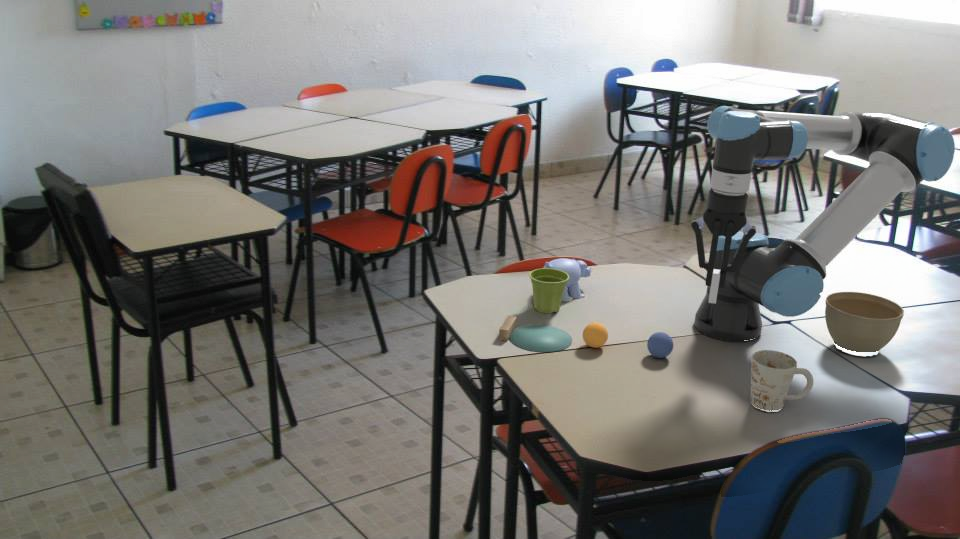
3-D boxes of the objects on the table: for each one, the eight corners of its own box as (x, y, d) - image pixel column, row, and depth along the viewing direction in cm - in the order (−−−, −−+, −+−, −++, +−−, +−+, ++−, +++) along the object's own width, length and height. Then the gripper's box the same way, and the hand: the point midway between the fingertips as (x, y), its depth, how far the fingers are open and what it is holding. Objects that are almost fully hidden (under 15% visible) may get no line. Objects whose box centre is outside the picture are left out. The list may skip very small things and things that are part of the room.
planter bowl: (890, 341, 209) (900, 297, 206) (897, 370, 195) (908, 324, 191) (816, 329, 214) (824, 286, 210) (818, 357, 199) (827, 311, 196)
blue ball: (672, 353, 198) (675, 330, 196) (670, 363, 193) (673, 340, 191) (647, 349, 199) (649, 326, 197) (644, 359, 194) (647, 336, 192)
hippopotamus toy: (601, 293, 229) (604, 257, 226) (556, 305, 221) (559, 268, 217) (572, 279, 237) (575, 245, 234) (528, 290, 229) (530, 255, 225)
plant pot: (563, 318, 213) (566, 284, 210) (524, 314, 214) (526, 279, 211) (568, 304, 221) (571, 270, 218) (530, 299, 223) (532, 266, 220)
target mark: (576, 330, 207) (576, 329, 207) (565, 356, 194) (566, 355, 194) (516, 321, 210) (516, 320, 210) (502, 346, 197) (502, 345, 197)
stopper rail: (516, 326, 207) (516, 316, 206) (507, 340, 200) (508, 330, 199) (507, 325, 208) (508, 315, 207) (498, 339, 200) (499, 329, 199)
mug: (738, 395, 181) (745, 349, 177) (799, 395, 182) (807, 350, 179) (753, 416, 173) (761, 369, 170) (816, 416, 174) (826, 369, 171)
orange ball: (608, 343, 201) (610, 320, 199) (604, 353, 196) (607, 330, 194) (583, 339, 202) (585, 316, 200) (579, 349, 197) (581, 326, 195)
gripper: (694, 191, 178) (679, 302, 187) (763, 199, 175) (744, 312, 184) (696, 182, 185) (681, 290, 194) (762, 189, 182) (744, 299, 191)
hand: (712, 300), depth 189 cm, fingers closed
